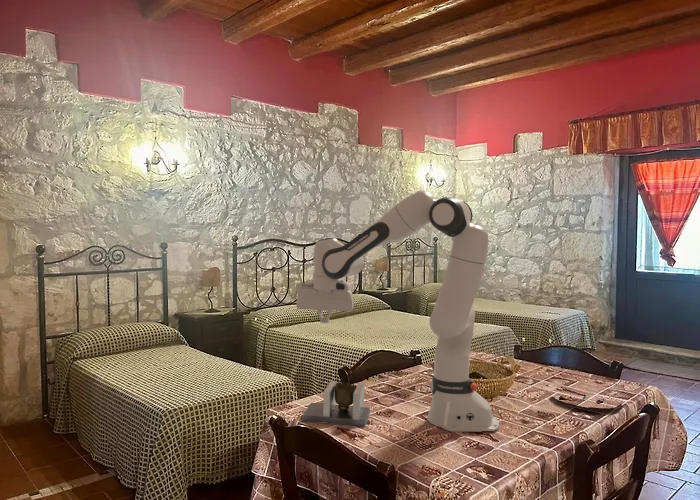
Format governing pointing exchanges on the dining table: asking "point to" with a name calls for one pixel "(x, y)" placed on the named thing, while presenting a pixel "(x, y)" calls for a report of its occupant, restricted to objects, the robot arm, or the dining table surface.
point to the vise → (353, 416)
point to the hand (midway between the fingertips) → (324, 322)
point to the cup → (344, 395)
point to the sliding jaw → (329, 399)
